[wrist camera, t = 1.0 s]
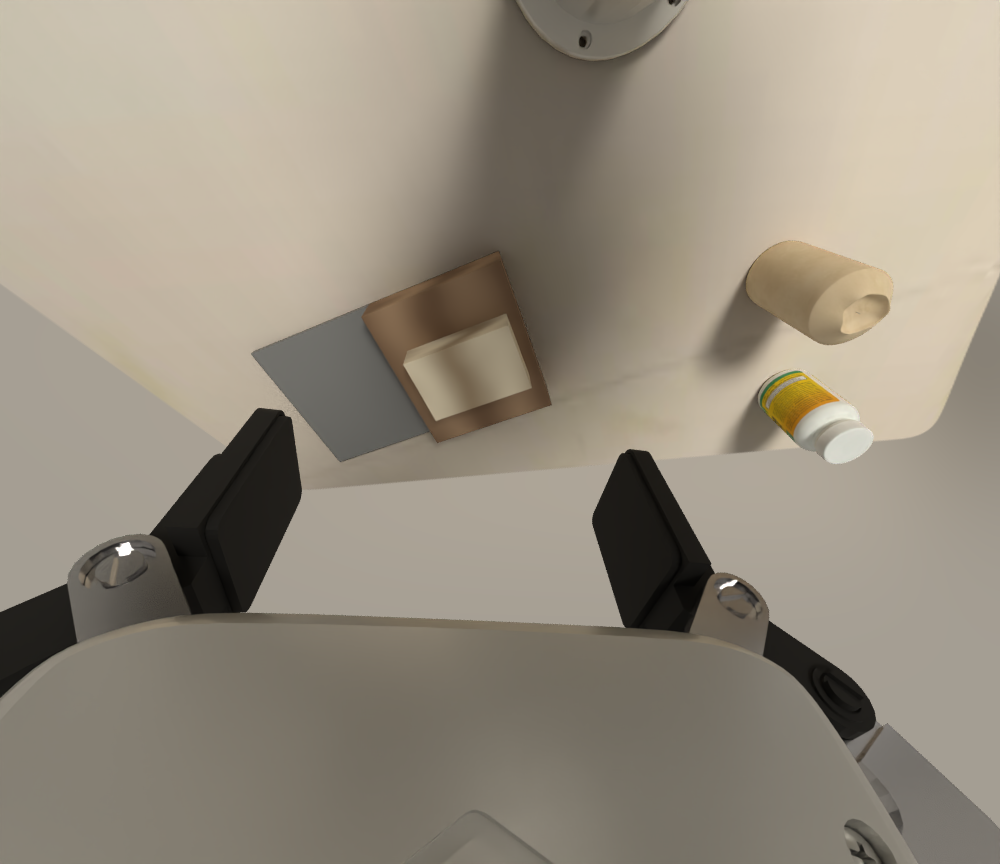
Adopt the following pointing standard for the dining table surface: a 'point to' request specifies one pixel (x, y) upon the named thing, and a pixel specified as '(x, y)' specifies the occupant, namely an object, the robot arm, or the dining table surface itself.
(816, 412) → the supplement bottle
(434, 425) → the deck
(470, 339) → the tile
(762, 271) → the candle
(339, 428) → the mat
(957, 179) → the dining table surface
